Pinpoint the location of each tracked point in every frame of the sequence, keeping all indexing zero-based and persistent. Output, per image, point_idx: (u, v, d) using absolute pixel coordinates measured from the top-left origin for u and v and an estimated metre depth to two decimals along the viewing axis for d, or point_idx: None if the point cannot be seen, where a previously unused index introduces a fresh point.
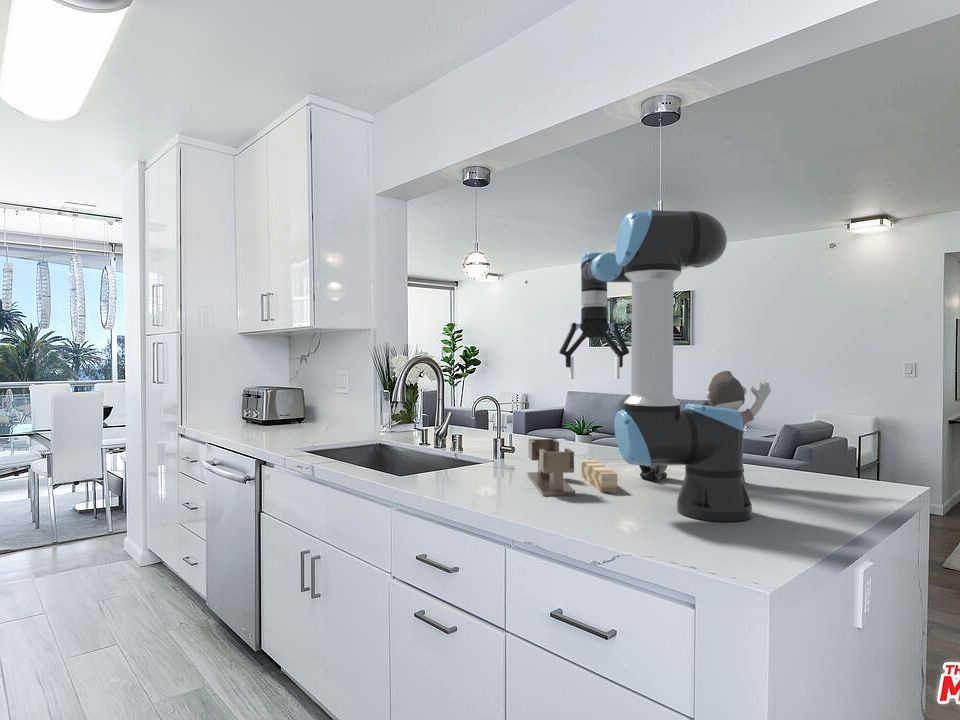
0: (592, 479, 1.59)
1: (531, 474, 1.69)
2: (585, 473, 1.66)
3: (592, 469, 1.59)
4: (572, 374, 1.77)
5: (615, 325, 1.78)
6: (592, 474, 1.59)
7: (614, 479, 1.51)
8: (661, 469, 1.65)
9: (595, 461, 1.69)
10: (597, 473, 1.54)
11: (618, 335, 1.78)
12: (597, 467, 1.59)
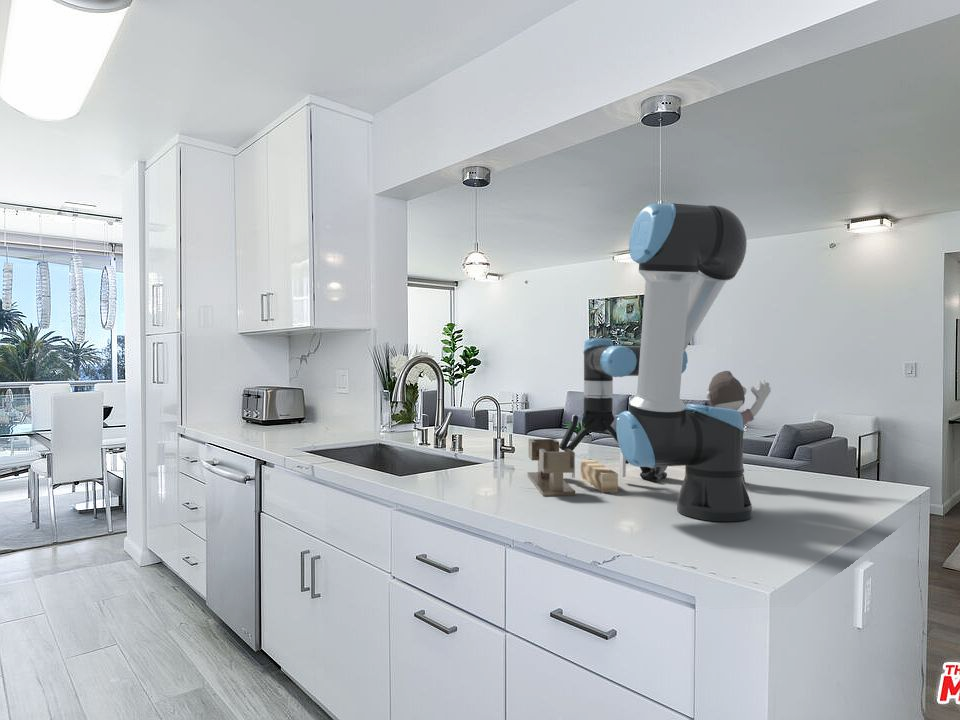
0: (592, 479, 1.59)
1: (531, 474, 1.69)
2: (585, 473, 1.66)
3: (592, 469, 1.59)
4: None
5: None
6: (592, 474, 1.59)
7: (615, 479, 1.51)
8: (661, 469, 1.65)
9: (594, 461, 1.69)
10: (597, 473, 1.54)
11: None
12: (597, 467, 1.59)
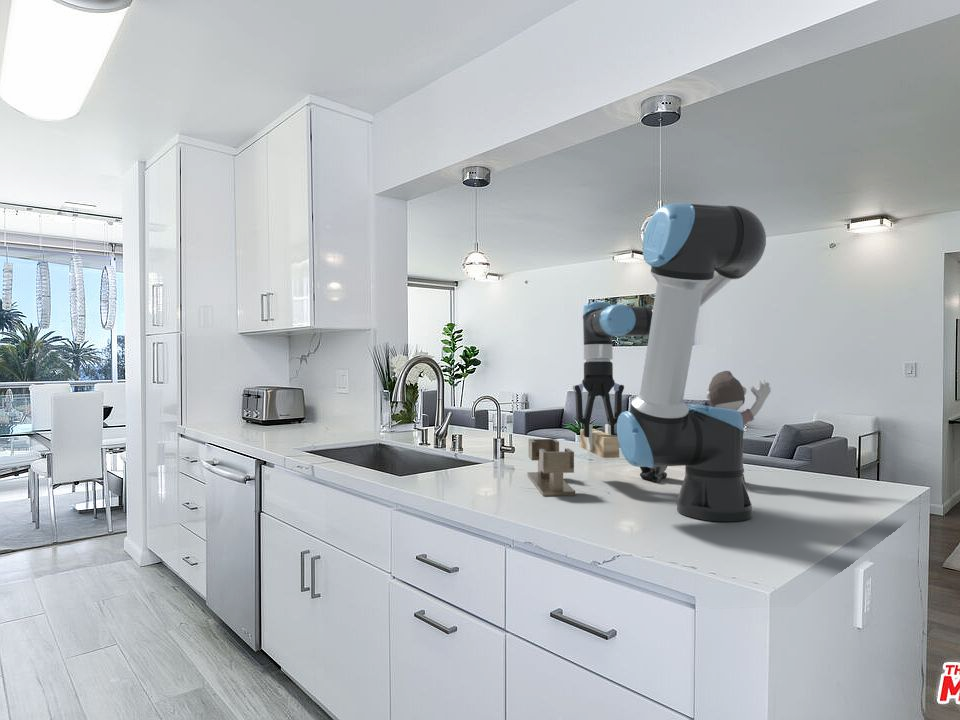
0: (593, 445, 1.59)
1: (531, 474, 1.69)
2: (585, 441, 1.66)
3: (593, 435, 1.59)
4: (591, 445, 1.59)
5: (621, 387, 1.60)
6: (593, 440, 1.59)
7: (616, 443, 1.51)
8: (661, 469, 1.65)
9: (594, 429, 1.69)
10: (598, 438, 1.54)
11: (618, 398, 1.60)
12: (598, 433, 1.59)
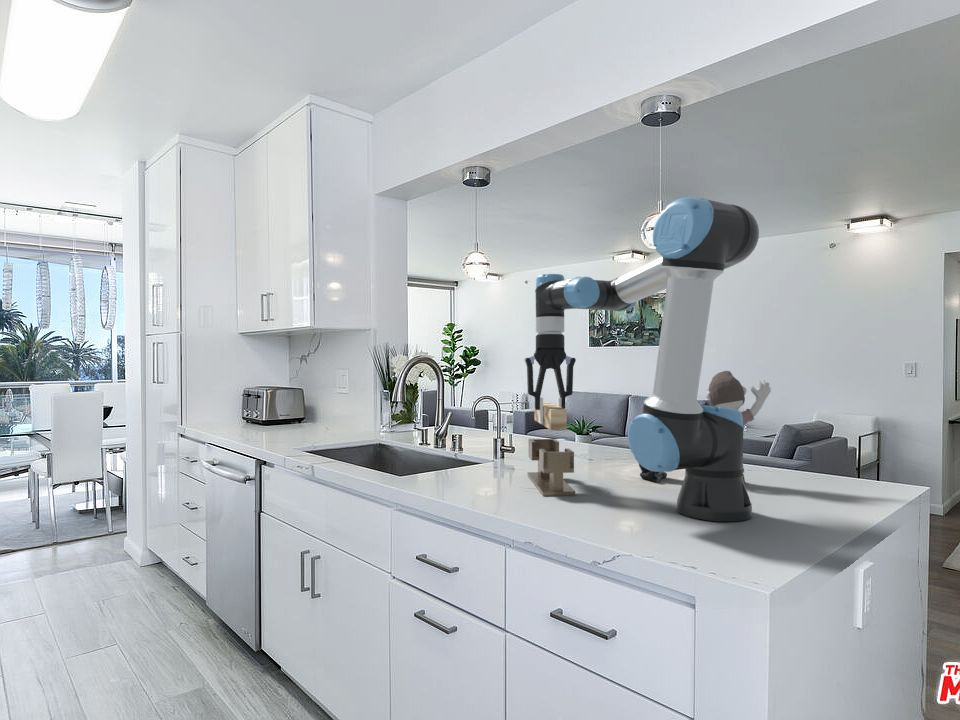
0: (543, 418, 1.58)
1: (531, 474, 1.69)
2: (537, 414, 1.65)
3: (543, 408, 1.58)
4: (541, 418, 1.58)
5: (572, 360, 1.59)
6: (543, 413, 1.58)
7: (564, 415, 1.51)
8: None
9: None
10: (547, 410, 1.54)
11: (570, 371, 1.59)
12: (548, 406, 1.59)
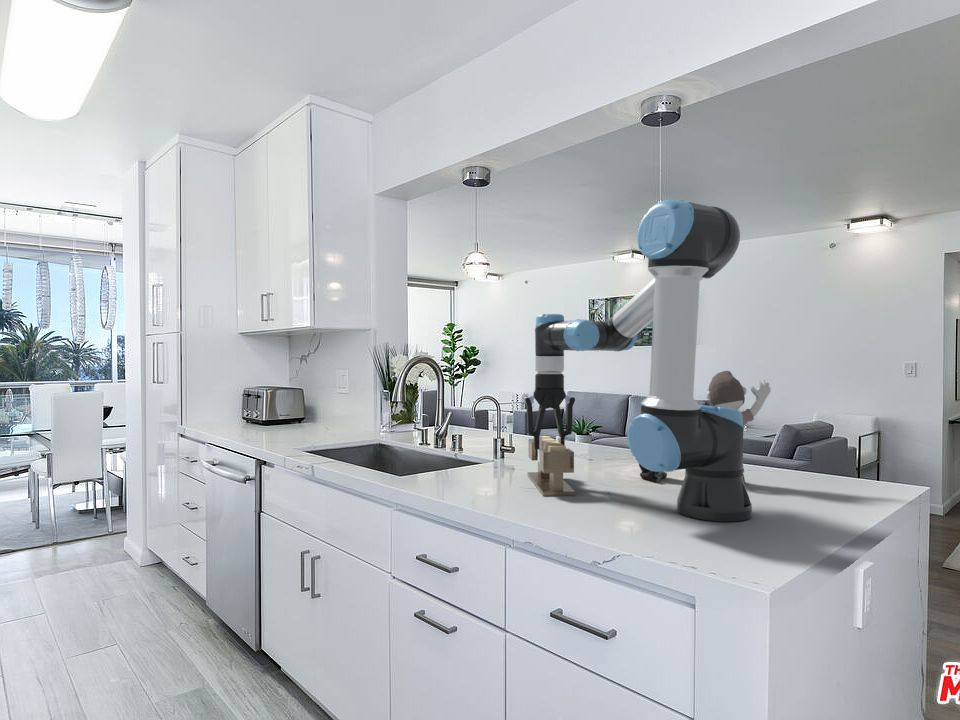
0: None
1: (531, 474, 1.69)
2: None
3: (543, 443, 1.59)
4: None
5: (571, 399, 1.59)
6: (543, 448, 1.58)
7: None
8: None
9: (548, 437, 1.68)
10: (546, 447, 1.54)
11: (569, 411, 1.59)
12: (548, 441, 1.59)
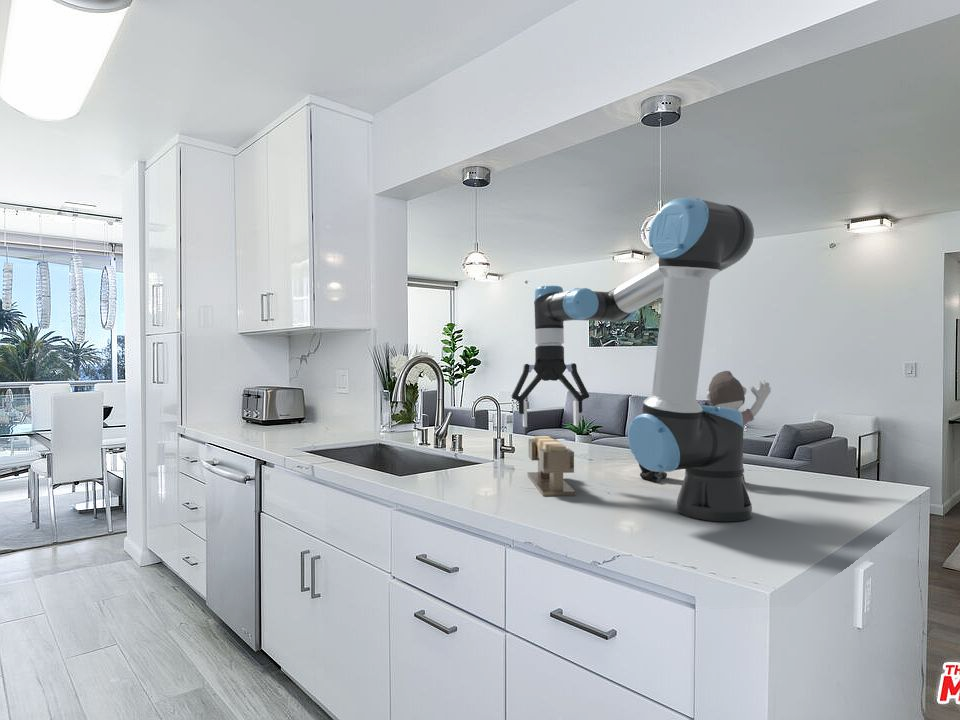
0: None
1: (531, 474, 1.69)
2: (537, 448, 1.66)
3: (542, 443, 1.59)
4: (525, 421, 1.58)
5: (573, 366, 1.59)
6: (543, 448, 1.58)
7: None
8: None
9: (548, 437, 1.68)
10: (546, 447, 1.54)
11: (576, 377, 1.59)
12: (548, 441, 1.59)
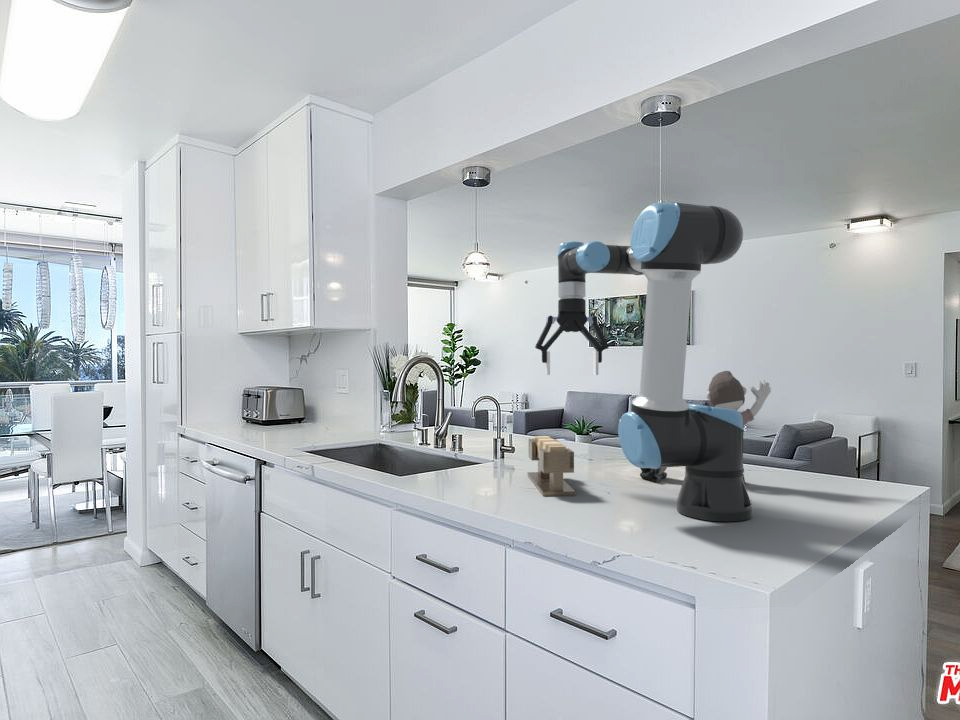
0: None
1: (531, 474, 1.69)
2: (537, 448, 1.66)
3: (542, 443, 1.59)
4: (548, 370, 1.68)
5: (594, 318, 1.68)
6: (543, 448, 1.58)
7: None
8: (661, 469, 1.65)
9: (548, 437, 1.68)
10: (546, 447, 1.54)
11: (597, 329, 1.69)
12: (548, 441, 1.59)
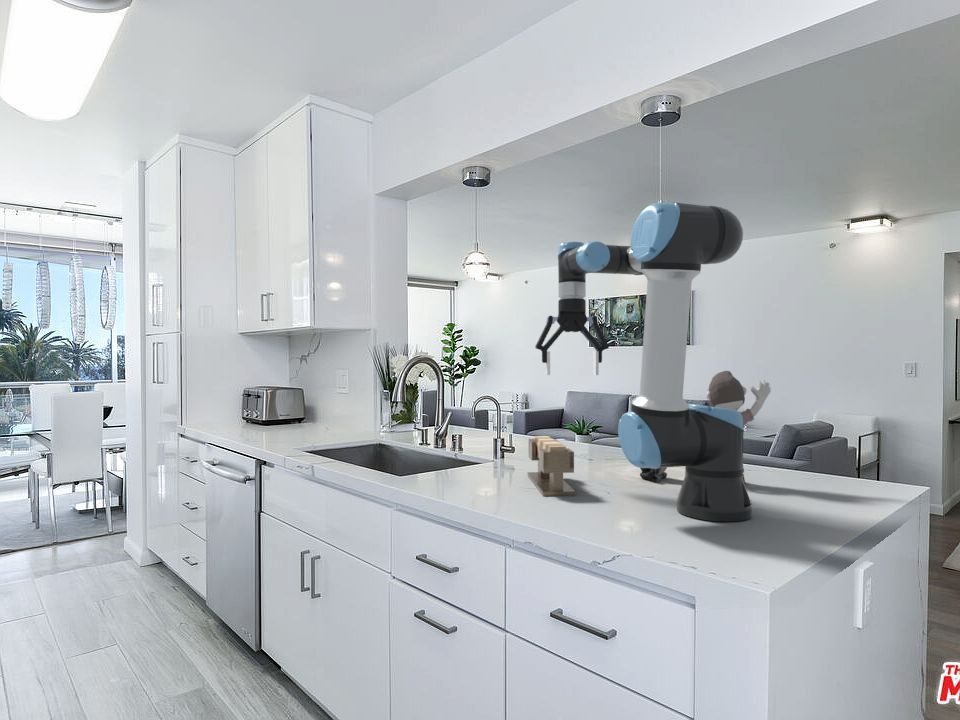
0: None
1: (531, 474, 1.69)
2: (537, 448, 1.66)
3: (542, 443, 1.59)
4: (548, 370, 1.68)
5: (594, 318, 1.69)
6: (543, 448, 1.58)
7: None
8: (661, 469, 1.65)
9: (548, 437, 1.68)
10: (546, 447, 1.54)
11: (597, 329, 1.69)
12: (548, 441, 1.59)
